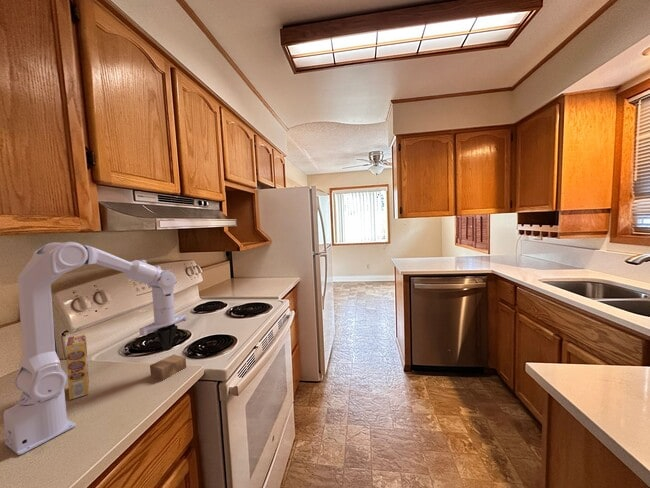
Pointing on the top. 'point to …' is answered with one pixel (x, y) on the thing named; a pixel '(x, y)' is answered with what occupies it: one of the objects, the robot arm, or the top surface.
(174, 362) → the walnut block
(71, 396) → the candy box
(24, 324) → the robot arm
